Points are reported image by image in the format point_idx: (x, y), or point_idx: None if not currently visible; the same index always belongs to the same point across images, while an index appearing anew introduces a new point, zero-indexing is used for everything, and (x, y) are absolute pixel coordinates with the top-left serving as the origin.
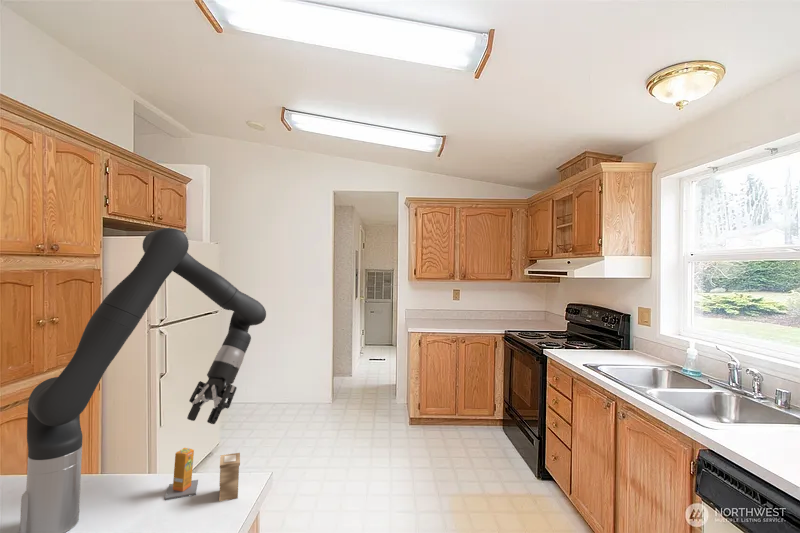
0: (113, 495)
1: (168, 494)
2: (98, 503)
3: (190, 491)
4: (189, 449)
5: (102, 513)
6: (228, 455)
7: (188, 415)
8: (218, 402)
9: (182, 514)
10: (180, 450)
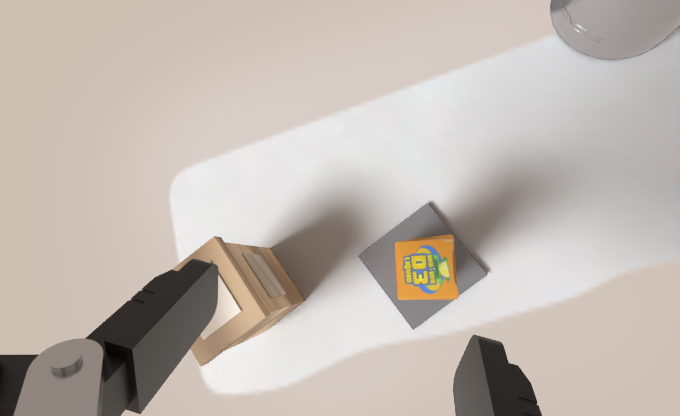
0: (617, 171)
1: (434, 222)
2: (614, 124)
3: (380, 257)
4: (416, 288)
5: (544, 96)
6: (232, 326)
7: (504, 359)
8: (22, 408)
9: (324, 167)
10: (449, 262)
